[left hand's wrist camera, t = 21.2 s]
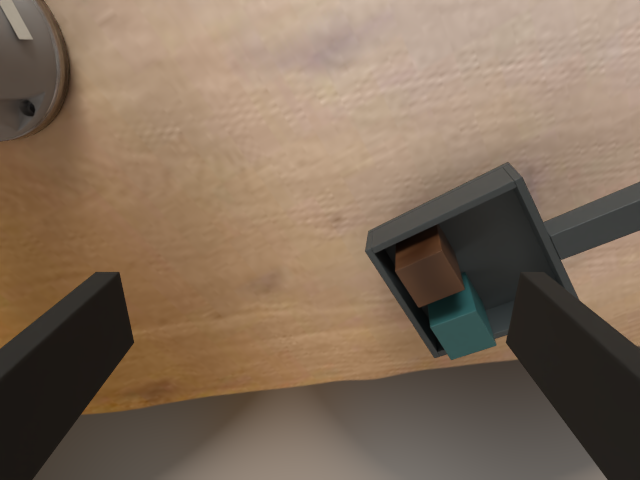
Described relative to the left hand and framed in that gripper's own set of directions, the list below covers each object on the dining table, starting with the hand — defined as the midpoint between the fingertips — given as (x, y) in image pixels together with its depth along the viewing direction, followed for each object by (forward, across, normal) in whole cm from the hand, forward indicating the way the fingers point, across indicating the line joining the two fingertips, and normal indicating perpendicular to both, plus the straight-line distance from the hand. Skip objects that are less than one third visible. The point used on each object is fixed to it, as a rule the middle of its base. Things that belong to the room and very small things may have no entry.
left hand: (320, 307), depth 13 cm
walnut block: (+22, +10, -6) cm, 25 cm away
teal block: (+22, +13, -12) cm, 28 cm away
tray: (+20, +19, -4) cm, 28 cm away
